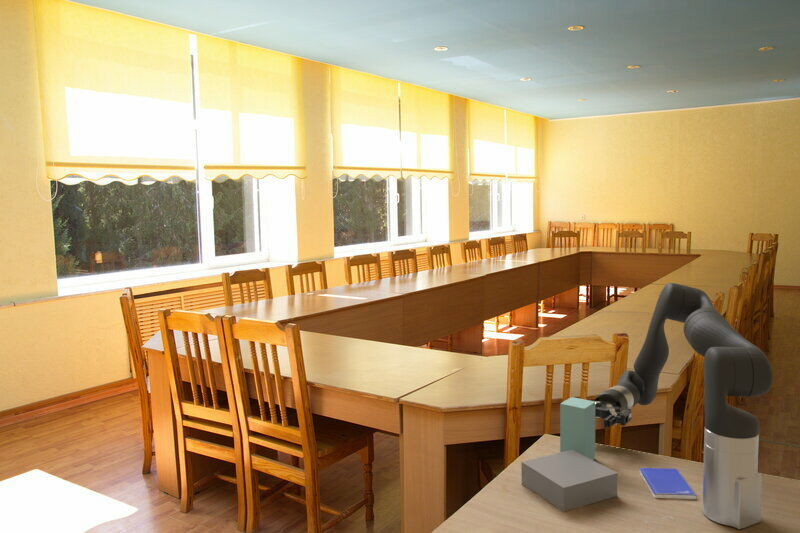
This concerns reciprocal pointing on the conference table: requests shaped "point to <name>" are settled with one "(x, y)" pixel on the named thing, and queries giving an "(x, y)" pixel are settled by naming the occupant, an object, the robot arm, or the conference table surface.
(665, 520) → the conference table surface
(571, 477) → the podium
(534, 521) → the conference table surface
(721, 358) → the robot arm
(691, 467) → the conference table surface
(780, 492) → the conference table surface
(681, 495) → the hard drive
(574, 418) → the carton
